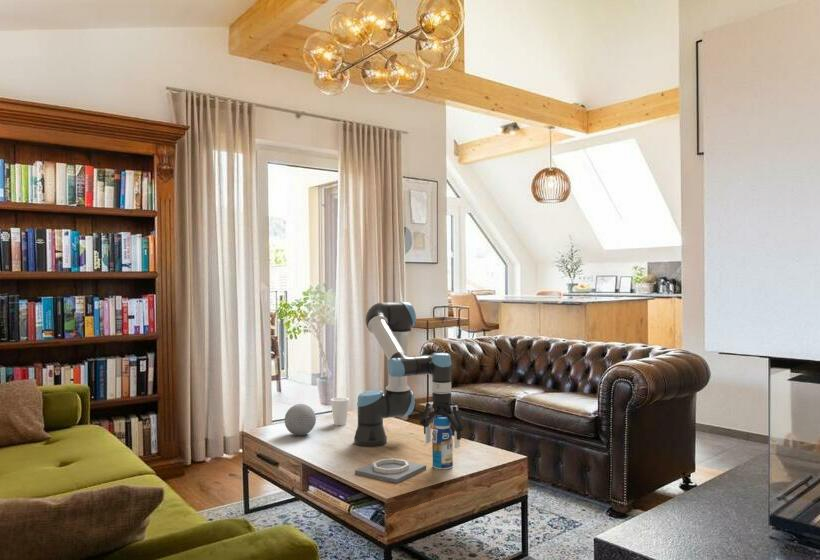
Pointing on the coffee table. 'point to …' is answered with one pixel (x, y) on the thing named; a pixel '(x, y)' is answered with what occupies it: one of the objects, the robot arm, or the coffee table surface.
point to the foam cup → (340, 410)
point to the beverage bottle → (442, 443)
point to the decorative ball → (300, 419)
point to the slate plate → (393, 475)
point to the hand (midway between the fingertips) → (442, 445)
